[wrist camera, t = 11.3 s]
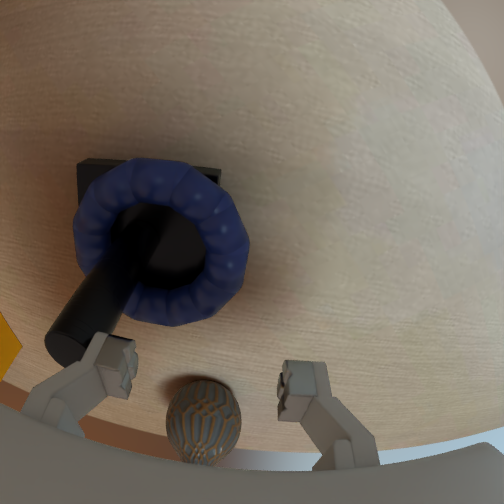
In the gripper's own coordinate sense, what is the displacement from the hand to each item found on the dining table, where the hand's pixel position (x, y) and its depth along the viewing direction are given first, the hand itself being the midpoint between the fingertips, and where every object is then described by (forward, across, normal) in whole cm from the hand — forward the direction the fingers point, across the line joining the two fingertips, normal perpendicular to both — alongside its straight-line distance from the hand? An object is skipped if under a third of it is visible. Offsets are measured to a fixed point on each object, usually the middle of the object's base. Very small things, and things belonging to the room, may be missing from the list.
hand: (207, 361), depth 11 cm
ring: (+8, +4, 0) cm, 9 cm away
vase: (+11, +1, +18) cm, 21 cm away
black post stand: (+11, +6, 0) cm, 12 cm away
